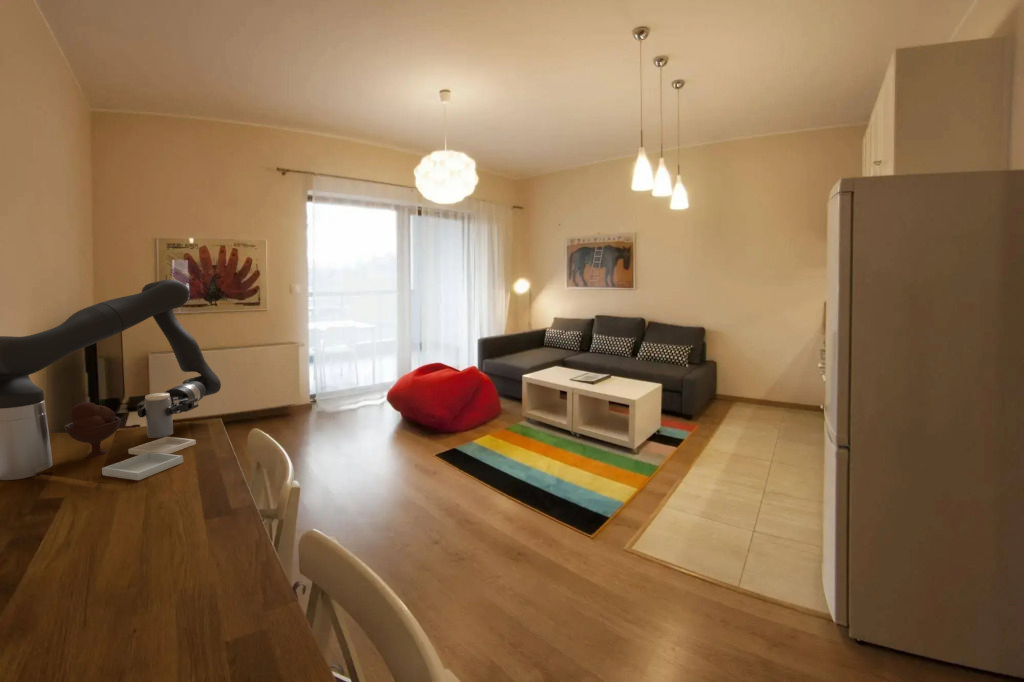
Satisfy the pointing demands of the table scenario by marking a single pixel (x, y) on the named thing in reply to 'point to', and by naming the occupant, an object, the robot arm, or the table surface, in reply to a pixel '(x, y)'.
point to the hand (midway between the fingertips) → (154, 412)
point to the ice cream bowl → (92, 425)
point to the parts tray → (163, 445)
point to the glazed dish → (142, 465)
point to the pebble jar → (158, 415)
